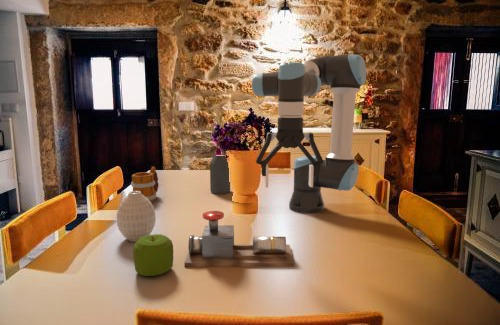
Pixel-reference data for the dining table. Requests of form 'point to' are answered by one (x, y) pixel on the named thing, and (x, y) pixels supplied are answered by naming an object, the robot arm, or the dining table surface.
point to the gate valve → (214, 239)
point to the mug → (146, 183)
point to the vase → (135, 216)
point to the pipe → (269, 245)
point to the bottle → (219, 175)
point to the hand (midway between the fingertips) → (288, 186)
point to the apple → (153, 255)
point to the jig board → (244, 259)
